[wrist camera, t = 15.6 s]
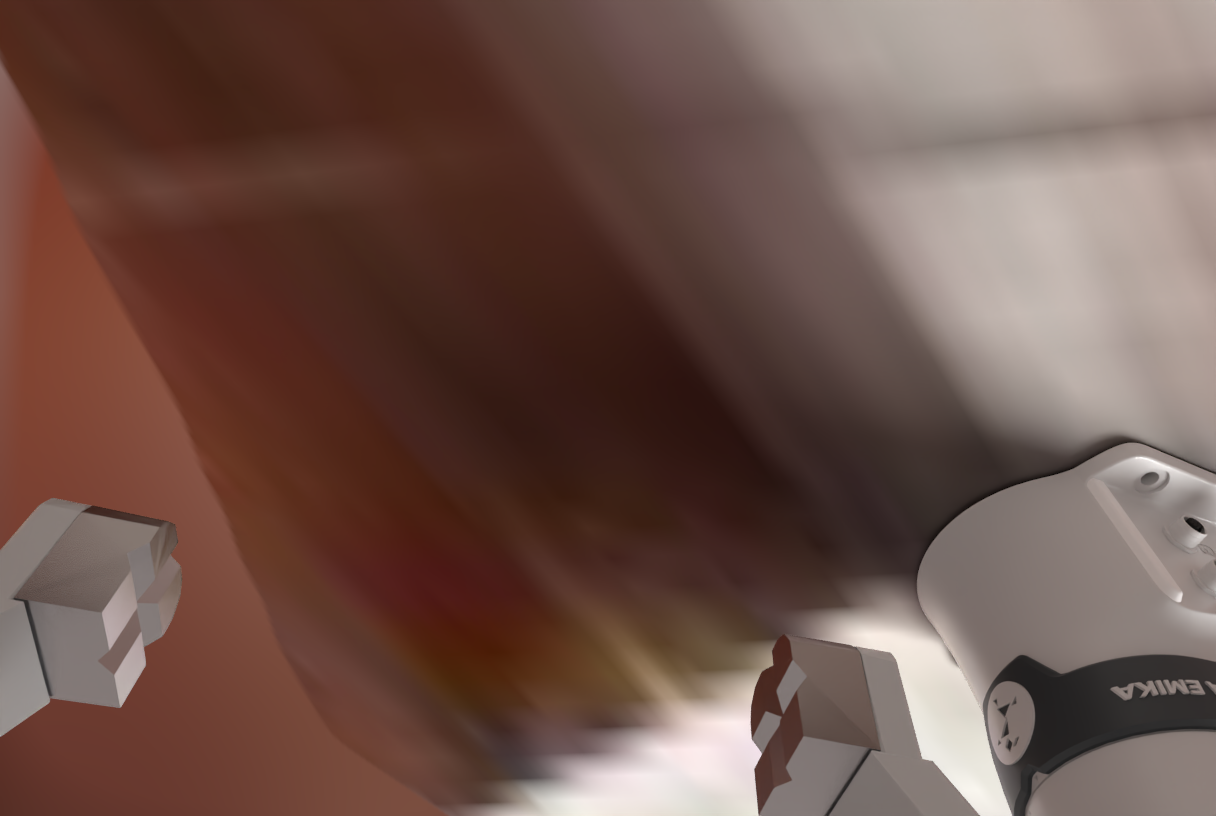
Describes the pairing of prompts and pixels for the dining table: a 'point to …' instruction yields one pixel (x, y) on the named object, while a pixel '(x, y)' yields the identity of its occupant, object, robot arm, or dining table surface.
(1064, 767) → the robot arm
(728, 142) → the dining table surface
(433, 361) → the dining table surface
